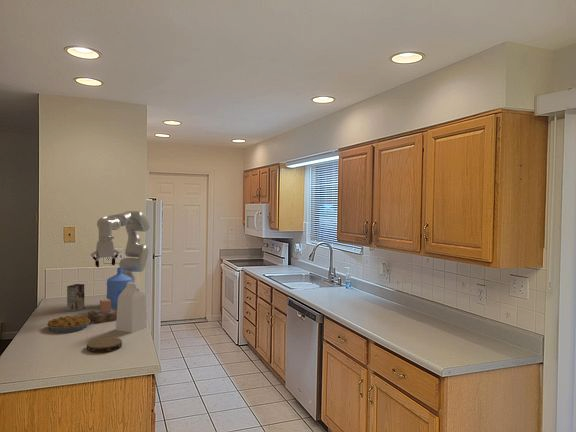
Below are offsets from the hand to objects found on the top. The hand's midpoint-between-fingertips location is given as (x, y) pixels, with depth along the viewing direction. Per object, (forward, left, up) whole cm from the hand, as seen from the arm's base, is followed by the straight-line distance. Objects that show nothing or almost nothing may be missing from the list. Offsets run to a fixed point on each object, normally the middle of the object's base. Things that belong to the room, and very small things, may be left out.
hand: (105, 265), depth 278 cm
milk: (-2, +41, -31) cm, 51 cm away
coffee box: (+11, -23, -31) cm, 40 cm away
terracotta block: (+3, +11, -26) cm, 29 cm away
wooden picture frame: (+3, +11, -31) cm, 33 cm away
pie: (+25, +18, -31) cm, 44 cm away
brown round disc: (+20, +64, -31) cm, 74 cm away
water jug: (-11, -5, -31) cm, 33 cm away
